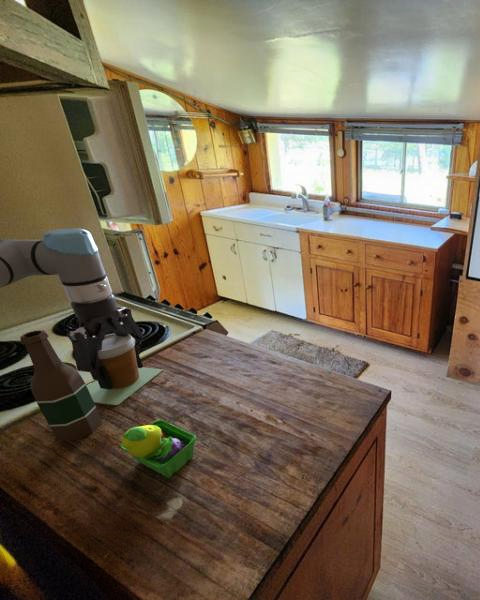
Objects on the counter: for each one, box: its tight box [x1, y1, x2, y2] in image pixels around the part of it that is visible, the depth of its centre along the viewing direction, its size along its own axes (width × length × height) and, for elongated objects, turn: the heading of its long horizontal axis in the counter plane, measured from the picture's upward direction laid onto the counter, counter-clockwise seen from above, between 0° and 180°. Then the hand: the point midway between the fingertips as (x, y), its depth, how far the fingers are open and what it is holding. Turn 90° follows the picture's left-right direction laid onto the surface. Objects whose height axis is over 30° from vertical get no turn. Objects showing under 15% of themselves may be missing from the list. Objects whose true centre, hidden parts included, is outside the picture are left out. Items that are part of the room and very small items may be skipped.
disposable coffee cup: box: [87, 332, 139, 388], centre depth 82 cm, size 10×10×12 cm
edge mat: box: [86, 366, 164, 407], centre depth 84 cm, size 14×14×1 cm
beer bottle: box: [19, 329, 103, 442], centre depth 65 cm, size 8×8×24 cm
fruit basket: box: [120, 419, 197, 479], centre depth 62 cm, size 11×9×11 cm
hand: (122, 376), depth 84 cm, fingers closed on disposable coffee cup, 8 cm apart
